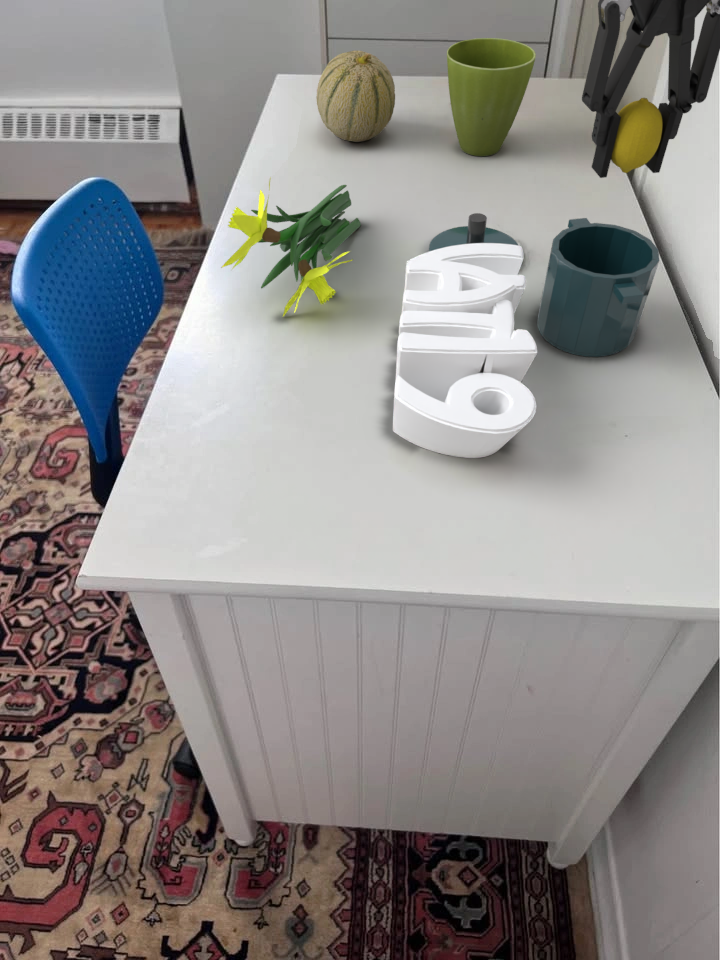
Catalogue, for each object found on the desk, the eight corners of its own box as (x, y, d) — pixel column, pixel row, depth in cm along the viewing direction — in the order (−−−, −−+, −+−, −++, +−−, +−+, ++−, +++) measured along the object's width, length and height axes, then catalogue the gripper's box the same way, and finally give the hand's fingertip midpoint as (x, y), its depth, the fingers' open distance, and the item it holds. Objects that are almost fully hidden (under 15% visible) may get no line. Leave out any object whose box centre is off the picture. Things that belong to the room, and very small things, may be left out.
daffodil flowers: (407, 238, 114) (346, 308, 85) (331, 276, 120) (250, 354, 92) (357, 133, 108) (273, 172, 79) (280, 180, 114) (176, 231, 86)
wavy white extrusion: (408, 292, 102) (410, 223, 94) (525, 300, 100) (537, 231, 92) (373, 472, 79) (372, 400, 71) (525, 487, 77) (541, 415, 69)
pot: (604, 285, 102) (625, 208, 94) (658, 364, 90) (688, 284, 82) (519, 294, 101) (532, 218, 93) (562, 375, 89) (582, 296, 81)
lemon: (655, 183, 80) (677, 108, 74) (605, 183, 80) (624, 108, 74) (643, 161, 84) (663, 88, 78) (595, 162, 84) (612, 88, 78)
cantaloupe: (334, 118, 143) (330, 33, 132) (404, 127, 140) (407, 40, 129) (306, 149, 134) (299, 60, 123) (380, 159, 131) (380, 69, 120)
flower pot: (534, 141, 135) (549, 46, 123) (502, 173, 126) (515, 74, 114) (461, 125, 140) (469, 32, 128) (426, 155, 132) (431, 58, 120)
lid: (504, 229, 113) (509, 191, 109) (531, 276, 104) (538, 236, 100) (419, 237, 112) (421, 199, 108) (439, 285, 103) (442, 246, 99)
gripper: (765, -98, 68) (687, 149, 85) (577, -87, 67) (536, 162, 84) (810, -82, 63) (717, 177, 80) (607, -69, 62) (557, 192, 79)
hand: (625, 169), depth 82 cm, fingers closed on lemon, 5 cm apart
